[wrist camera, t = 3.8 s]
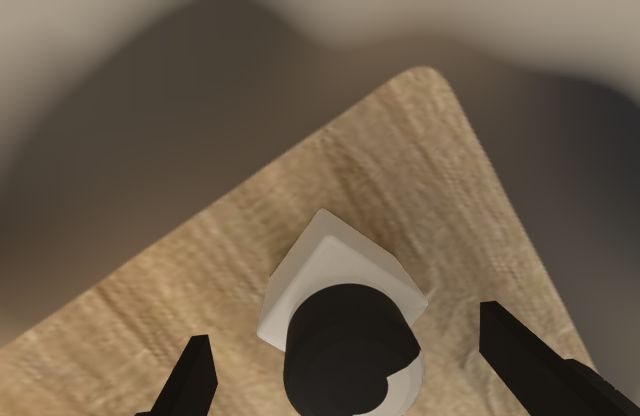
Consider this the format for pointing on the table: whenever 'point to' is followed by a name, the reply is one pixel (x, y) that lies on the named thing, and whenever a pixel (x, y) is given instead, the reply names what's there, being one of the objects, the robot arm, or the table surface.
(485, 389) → the table surface
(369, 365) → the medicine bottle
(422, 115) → the table surface
